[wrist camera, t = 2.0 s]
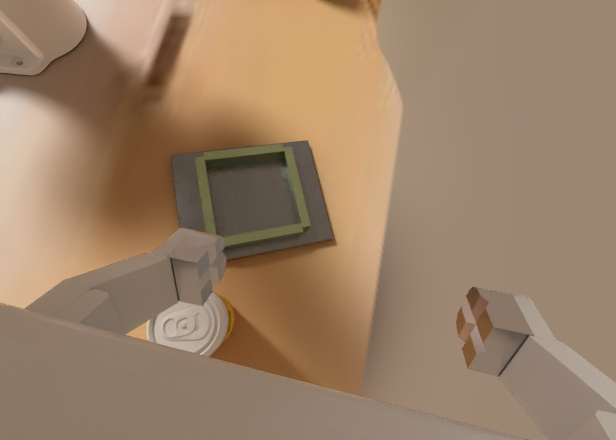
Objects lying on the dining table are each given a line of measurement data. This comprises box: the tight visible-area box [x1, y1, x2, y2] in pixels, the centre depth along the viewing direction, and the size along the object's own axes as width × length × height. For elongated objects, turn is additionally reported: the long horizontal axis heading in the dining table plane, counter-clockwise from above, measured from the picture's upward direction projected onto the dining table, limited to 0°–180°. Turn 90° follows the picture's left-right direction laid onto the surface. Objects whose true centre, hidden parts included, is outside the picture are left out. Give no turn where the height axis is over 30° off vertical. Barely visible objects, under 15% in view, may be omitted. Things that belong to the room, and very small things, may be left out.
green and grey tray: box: [171, 140, 333, 261], centre depth 41 cm, size 20×16×3 cm
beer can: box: [147, 292, 235, 357], centre depth 30 cm, size 6×6×15 cm
